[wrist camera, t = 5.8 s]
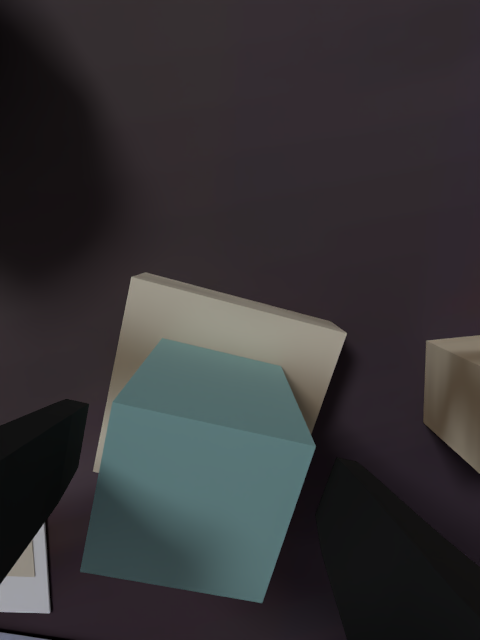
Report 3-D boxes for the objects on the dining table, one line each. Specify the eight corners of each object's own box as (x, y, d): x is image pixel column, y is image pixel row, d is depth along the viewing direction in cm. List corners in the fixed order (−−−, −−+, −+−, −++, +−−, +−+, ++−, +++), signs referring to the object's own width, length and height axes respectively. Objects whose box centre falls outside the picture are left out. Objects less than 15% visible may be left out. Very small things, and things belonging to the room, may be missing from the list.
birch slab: (275, 470, 16) (283, 510, 13) (114, 435, 15) (93, 471, 13) (326, 318, 14) (346, 333, 12) (149, 271, 14) (131, 277, 11)
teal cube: (250, 468, 13) (262, 602, 8) (138, 445, 12) (80, 571, 8) (280, 365, 12) (315, 446, 7) (162, 337, 12) (112, 402, 7)
